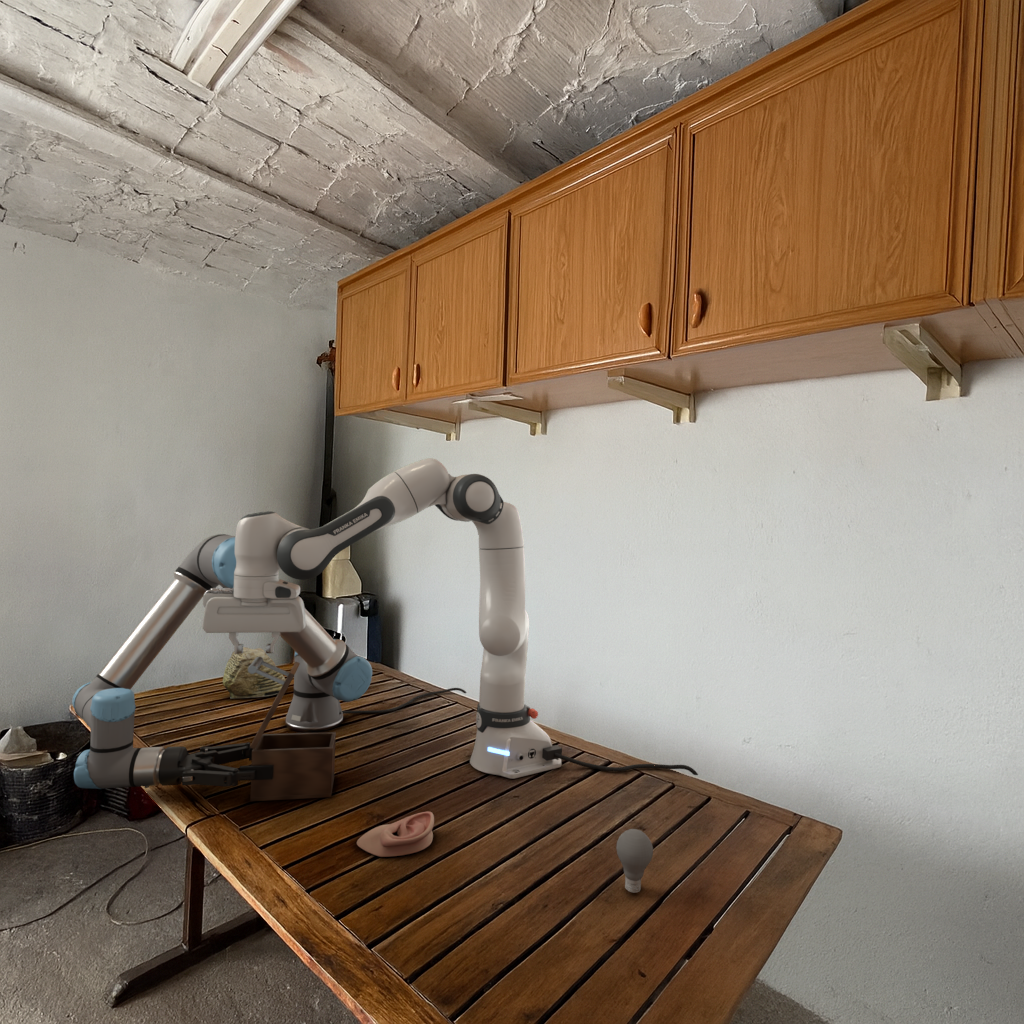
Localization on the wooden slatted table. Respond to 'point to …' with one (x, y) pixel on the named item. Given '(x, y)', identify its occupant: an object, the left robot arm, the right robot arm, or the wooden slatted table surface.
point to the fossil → (250, 676)
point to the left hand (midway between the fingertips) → (276, 761)
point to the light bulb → (634, 857)
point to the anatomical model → (399, 836)
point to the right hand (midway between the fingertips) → (254, 653)
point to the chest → (295, 766)
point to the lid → (255, 669)
